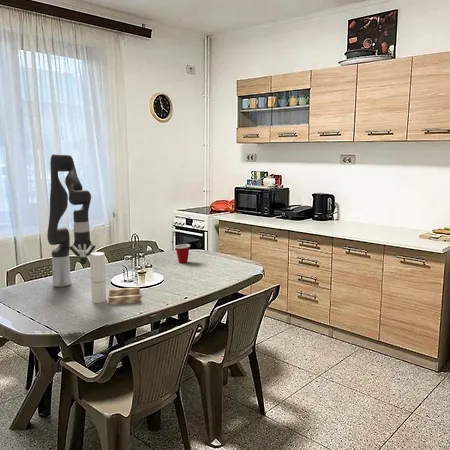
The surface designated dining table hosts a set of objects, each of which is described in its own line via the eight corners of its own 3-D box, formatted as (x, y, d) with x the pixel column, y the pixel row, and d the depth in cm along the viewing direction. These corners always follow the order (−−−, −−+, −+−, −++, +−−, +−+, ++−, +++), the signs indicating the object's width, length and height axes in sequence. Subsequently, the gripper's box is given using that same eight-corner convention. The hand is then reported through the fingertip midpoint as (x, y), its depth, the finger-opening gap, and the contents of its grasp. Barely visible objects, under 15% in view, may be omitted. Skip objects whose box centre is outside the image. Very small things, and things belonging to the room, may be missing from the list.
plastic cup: (174, 260, 308) (173, 243, 306) (189, 260, 310) (189, 243, 308) (175, 264, 298) (175, 247, 296) (191, 264, 300) (191, 246, 297)
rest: (108, 304, 224) (108, 298, 223) (109, 295, 237) (109, 289, 236) (140, 302, 227) (140, 295, 227) (139, 293, 241) (139, 287, 240)
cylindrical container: (100, 297, 234) (98, 251, 230) (109, 300, 230) (107, 253, 225) (89, 300, 229) (87, 253, 224) (97, 304, 224) (95, 256, 220)
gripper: (96, 228, 226) (97, 261, 229) (68, 229, 223) (70, 262, 226) (95, 231, 219) (96, 265, 222) (66, 232, 216) (69, 266, 219)
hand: (83, 263), depth 224 cm, fingers closed
